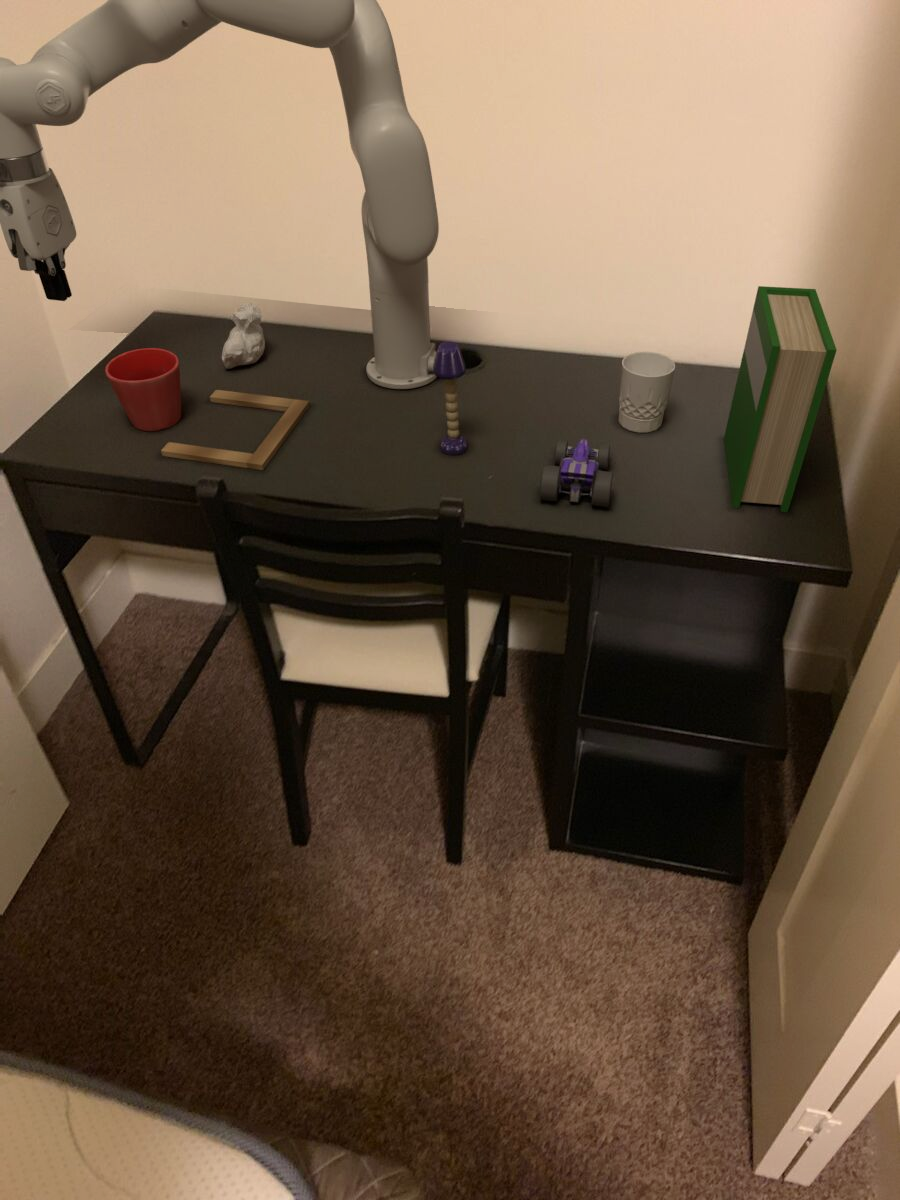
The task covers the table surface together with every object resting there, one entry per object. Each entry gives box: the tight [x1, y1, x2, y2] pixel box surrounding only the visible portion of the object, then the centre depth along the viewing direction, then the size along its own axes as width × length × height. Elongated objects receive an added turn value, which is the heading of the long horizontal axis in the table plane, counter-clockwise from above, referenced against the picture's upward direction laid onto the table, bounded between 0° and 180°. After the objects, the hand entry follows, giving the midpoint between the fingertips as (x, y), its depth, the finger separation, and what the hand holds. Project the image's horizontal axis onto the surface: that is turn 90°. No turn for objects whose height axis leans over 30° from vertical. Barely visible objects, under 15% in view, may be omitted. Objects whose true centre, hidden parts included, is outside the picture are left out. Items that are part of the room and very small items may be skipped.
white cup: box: [618, 351, 676, 434], centre depth 137 cm, size 8×8×10 cm
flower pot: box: [104, 347, 182, 432], centre depth 139 cm, size 11×11×10 cm
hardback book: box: [723, 285, 838, 513], centre depth 121 cm, size 18×7×24 cm, turn 171°
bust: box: [221, 301, 266, 370], centre depth 154 cm, size 12×8×11 cm
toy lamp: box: [434, 341, 469, 456], centre depth 130 cm, size 5×5×17 cm
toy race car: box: [539, 438, 614, 508], centre depth 126 cm, size 10×15×6 cm, turn 168°
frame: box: [160, 389, 311, 471], centre depth 140 cm, size 16×19×1 cm
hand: (59, 297), depth 132 cm, fingers closed
